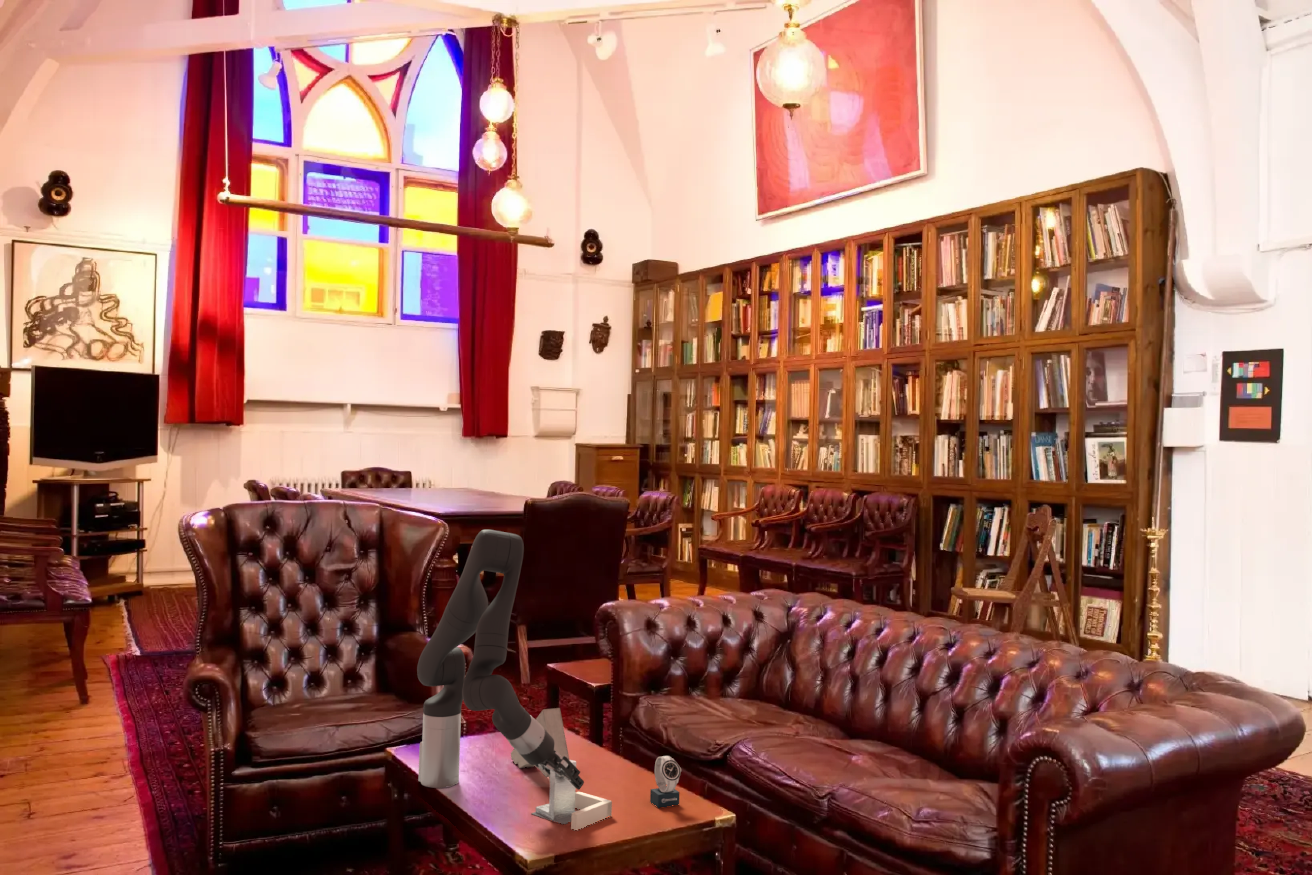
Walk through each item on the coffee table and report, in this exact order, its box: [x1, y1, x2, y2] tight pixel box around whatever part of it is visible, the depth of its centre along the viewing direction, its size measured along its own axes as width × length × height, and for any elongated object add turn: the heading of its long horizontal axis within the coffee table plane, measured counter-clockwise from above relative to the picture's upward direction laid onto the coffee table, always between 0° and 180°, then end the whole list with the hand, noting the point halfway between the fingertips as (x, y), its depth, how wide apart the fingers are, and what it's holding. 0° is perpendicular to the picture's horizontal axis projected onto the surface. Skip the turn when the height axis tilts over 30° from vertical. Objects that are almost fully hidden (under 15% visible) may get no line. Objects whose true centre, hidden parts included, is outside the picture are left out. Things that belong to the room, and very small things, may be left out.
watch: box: [649, 755, 682, 809], centre depth 238 cm, size 6×8×11 cm
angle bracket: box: [535, 759, 577, 822], centre depth 229 cm, size 7×6×12 cm
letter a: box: [510, 707, 576, 793], centre depth 253 cm, size 22×4×30 cm
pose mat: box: [531, 810, 577, 825], centre depth 229 cm, size 10×8×1 cm
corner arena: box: [570, 791, 613, 831], centre depth 227 cm, size 10×12×4 cm
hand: (569, 781), depth 229 cm, fingers open, 8 cm apart
